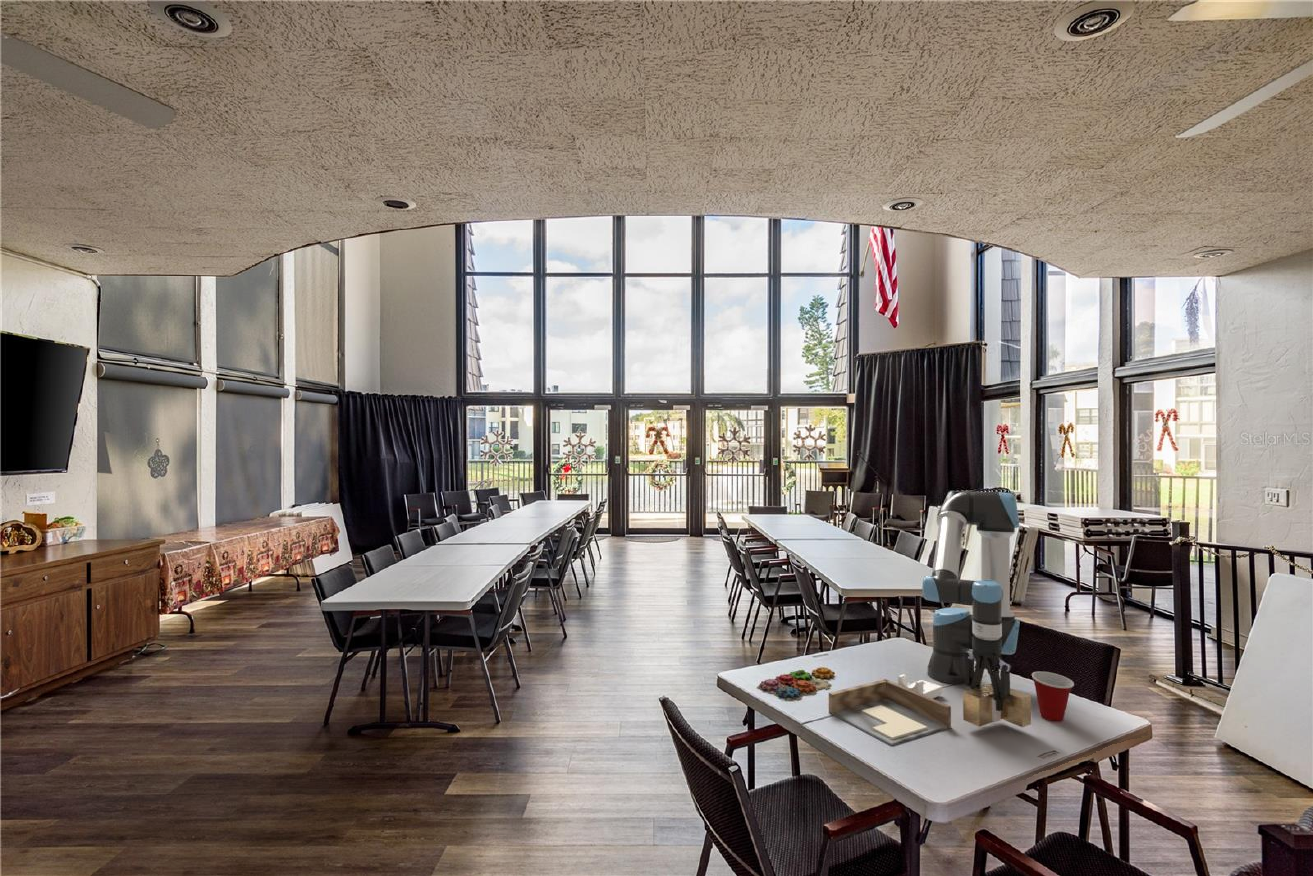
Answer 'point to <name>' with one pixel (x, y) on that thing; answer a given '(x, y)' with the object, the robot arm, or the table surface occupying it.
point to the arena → (894, 698)
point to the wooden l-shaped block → (980, 707)
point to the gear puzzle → (797, 684)
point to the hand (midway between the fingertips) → (987, 716)
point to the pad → (893, 722)
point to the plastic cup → (1052, 694)
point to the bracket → (921, 687)
